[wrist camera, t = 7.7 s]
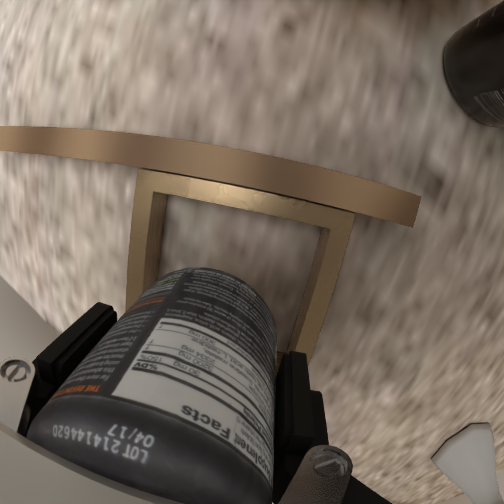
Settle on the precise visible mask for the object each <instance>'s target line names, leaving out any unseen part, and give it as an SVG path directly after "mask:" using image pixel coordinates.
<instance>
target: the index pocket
mask: <svg viewBox="0 0 504 504" xmlns="http://www.w3.org/2000/svg"><path fill="white" fill-rule="evenodd" d="M168 194H171V195H176V196H181V197H187V198H192V199H197V200H202V201H207V202H212V203H217V204H221V205H226V206H231V207H236V208H240V209H245V210H250V211H254V212H259V213H264V214H268V215H273V216H277V217H282V218H286V219H291V220H295V221H299V222H304V223H308V224H312V225H316V226H321V227H322V231H321V235H320V239H319V242H318V246H317V250H316V254H315V257H314V261H313V265H312V268H311V272H310V275H309V279H308V283H307V286H306V290H305V293H304V297H303V300H302V303H301V307H300V310H299V314H298V317H297V320H296V324H295V327H294V330H293V333H292V337H291V340H290V343H289V346H288V349H287V352H286V353H285V354H289V352H290V351H296V352H302V353H306V355H307V364H309V361H310V358H311V356H312V353H313V350H314V347H315V344H316V342H317V339H318V336H319V333H320V330H321V327H322V324H323V321H324V318H325V315H326V312H327V309H328V306H329V303H330V300H331V297H332V294H333V291H334V288H335V284H336V281H337V278H338V275H339V271H340V268H341V265H342V261H343V258H344V254H345V251H346V247H347V244H348V240H349V237H350V233H351V229H352V226H353V222H354V218H355V213H354V212H352V211H350V210H346V209H342V208H338V207H334V206H330V205H326V204H322V203H318V202H314V201H309V200H305V199H301V198H297V197H292V196H288V195H283V194H279V193H275V192H270V191H265V190H261V189H256V188H251V187H247V186H242V185H237V184H232V183H227V182H222V181H217V180H211V179H206V178H201V177H195V176H190V175H184V174H179V173H173V172H167V171H161V170H155V169H149V168H141V169H138V175H137V182H136V189H135V197H134V205H133V213H132V222H131V232H130V243H129V255H128V270H127V287H126V311H127V310H128V309H129V308H130V307H131V306H132V305H133V303H135V302H136V301H137V299H138V298H139V297H140V296H141V295H142V294H143V293H144V292H145V291H146V290H147V289H148V288H149V287H150V286H151V285H152V284H153V283H155V282H156V281H157V277H158V267H159V258H160V249H161V241H162V233H163V226H164V218H165V211H166V204H167V197H168ZM283 354H284V353H282V352H277V351H276V375H277V372H278V369H279V366H280V363H281V360H282V357H283Z"/></svg>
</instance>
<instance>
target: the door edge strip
mask: <svg viewBox="0 0 504 504" xmlns="http://www.w3.org/2000/svg"><path fill="white" fill-rule="evenodd" d="M0 151H10V152H22V153H33V154H43V155H52V156H61V157H70V158H78V159H86V160H94V161H102V162H109V163H116V164H123V165H129V166H136V167H142V168H149V169H155V170H161V171H167V172H173V173H179V174H184V175H190V176H195V177H201V178H206V179H211V180H217V181H222V182H227V183H232V184H237V185H242V186H247V187H251V188H256V189H261V190H265V191H270V192H275V193H279V194H283V195H288V196H292V197H297V198H301V199H305V200H309V201H314V202H318V203H322V204H326V205H330V206H334V207H338V208H342V209H346V210H350V211H354V212H357V213H361V214H365V215H369V216H372V217H376V218H380V219H383V220H387V221H391V222H394V223H398V224H401V225H405V226H408V227H412V228H413V226H414V223H415V219H416V215H417V212H418V208H419V204H420V200H421V196H418V195H415V194H412V193H409V192H406V191H403V190H400V189H396V188H393V187H390V186H387V185H383V184H380V183H376V182H373V181H370V180H366V179H363V178H359V177H355V176H352V175H348V174H344V173H341V172H337V171H333V170H329V169H325V168H321V167H317V166H313V165H309V164H305V163H301V162H296V161H292V160H288V159H283V158H278V157H274V156H269V155H264V154H260V153H255V152H250V151H244V150H239V149H234V148H228V147H223V146H217V145H211V144H205V143H199V142H193V141H186V140H180V139H173V138H165V137H158V136H150V135H141V134H133V133H123V132H113V131H102V130H89V129H75V128H57V127H26V126H0Z"/></svg>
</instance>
